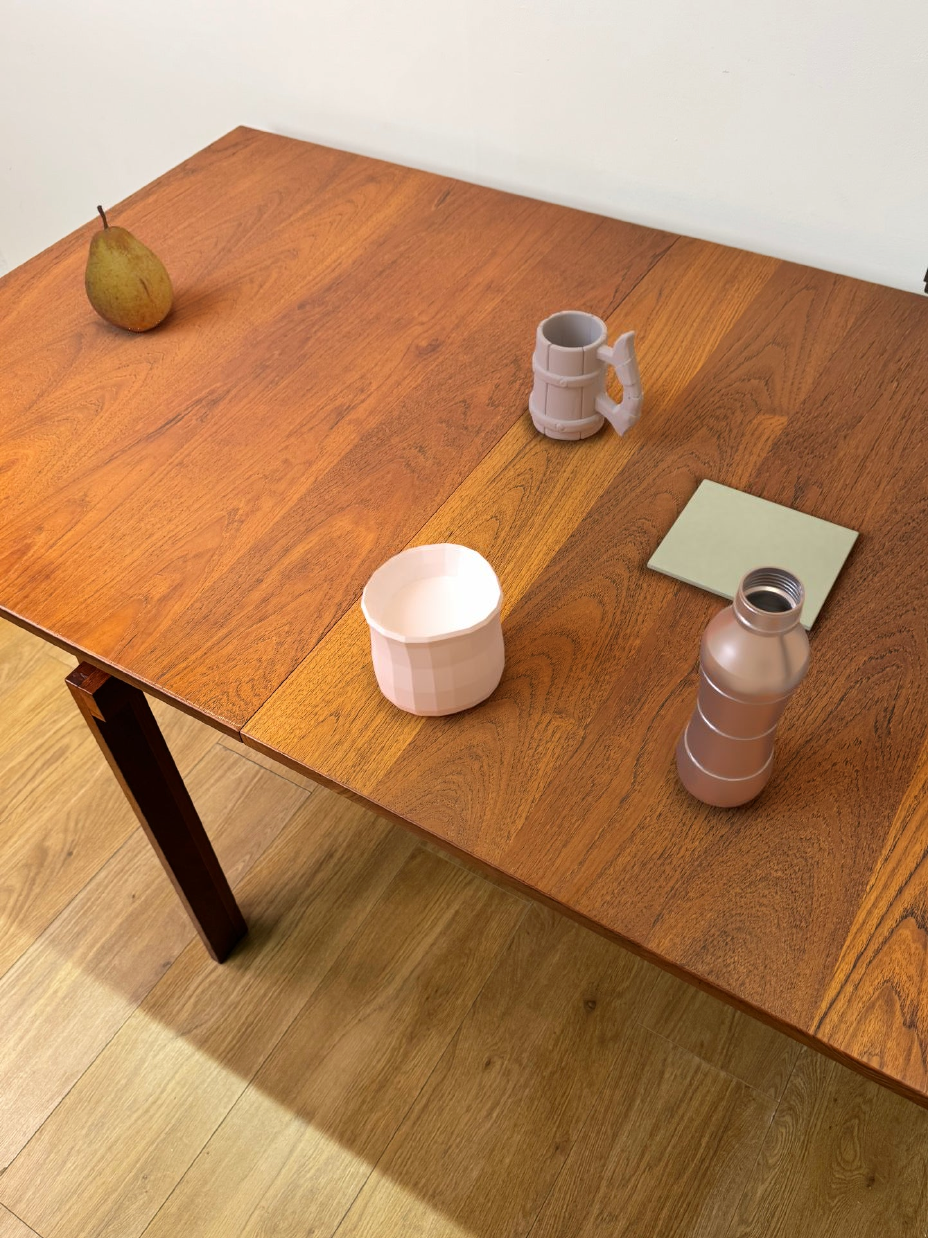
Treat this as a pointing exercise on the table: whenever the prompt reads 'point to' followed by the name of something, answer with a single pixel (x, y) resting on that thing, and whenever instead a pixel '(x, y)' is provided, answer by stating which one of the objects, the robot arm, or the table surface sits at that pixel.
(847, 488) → the table surface
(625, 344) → the mug
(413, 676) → the cup
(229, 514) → the table surface
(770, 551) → the mat
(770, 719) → the metal bottle
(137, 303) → the fruit
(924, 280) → the robot arm
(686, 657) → the table surface
